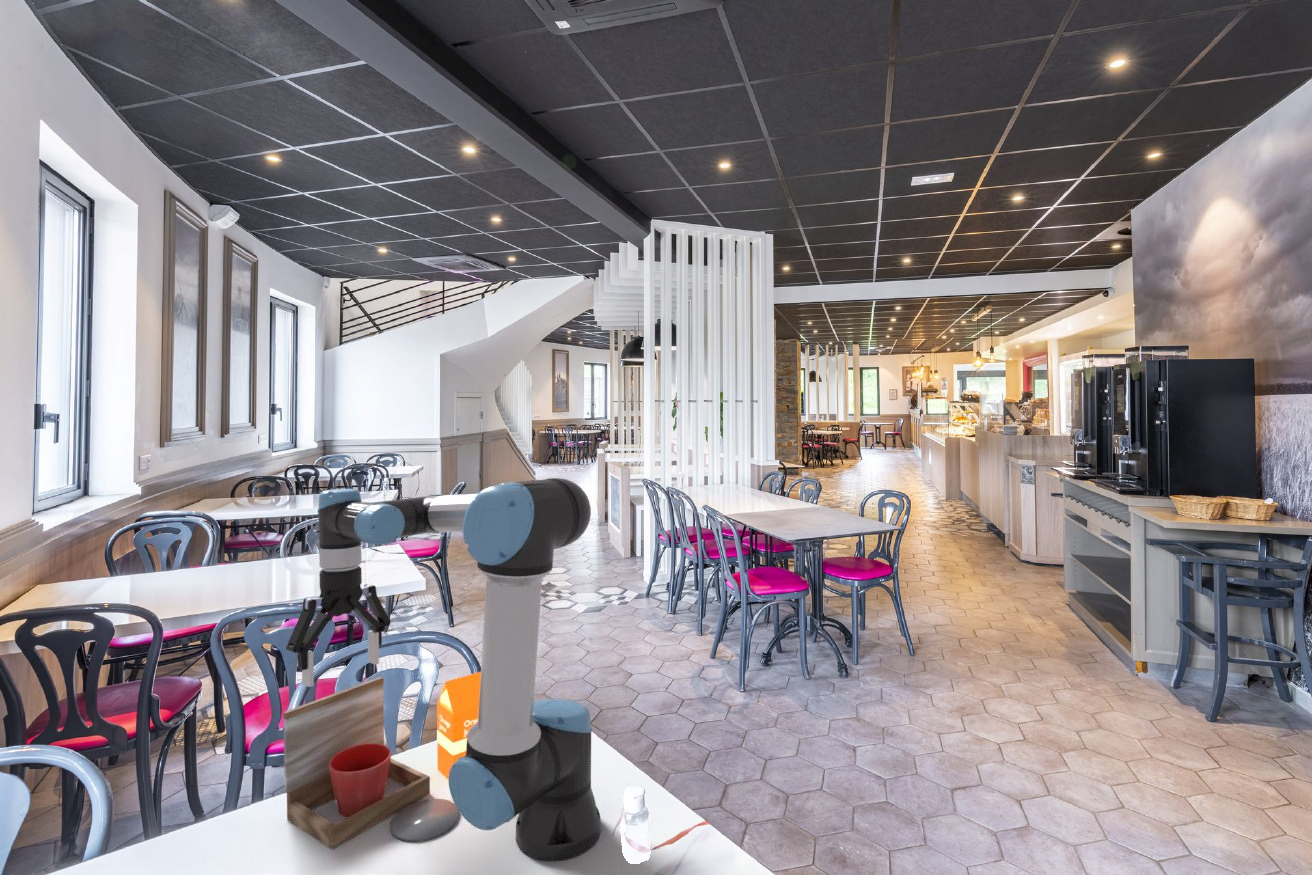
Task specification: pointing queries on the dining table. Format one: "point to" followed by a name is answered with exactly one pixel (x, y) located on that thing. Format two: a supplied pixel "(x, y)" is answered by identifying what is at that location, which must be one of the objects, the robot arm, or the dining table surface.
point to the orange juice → (456, 718)
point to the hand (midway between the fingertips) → (342, 673)
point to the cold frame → (323, 735)
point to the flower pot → (359, 776)
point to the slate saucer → (424, 820)
